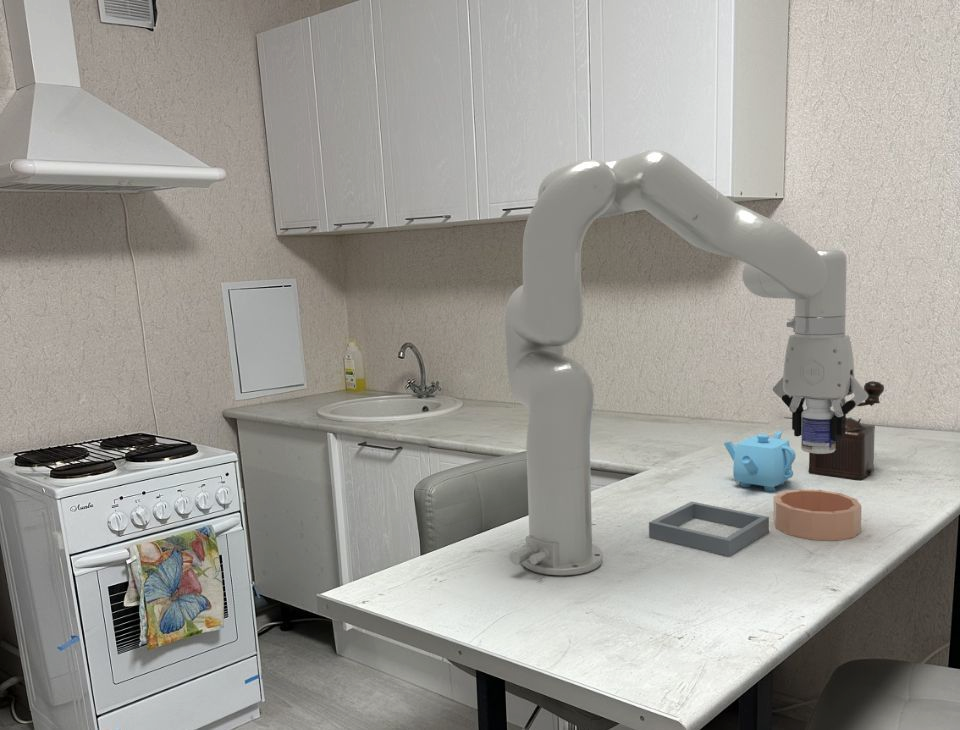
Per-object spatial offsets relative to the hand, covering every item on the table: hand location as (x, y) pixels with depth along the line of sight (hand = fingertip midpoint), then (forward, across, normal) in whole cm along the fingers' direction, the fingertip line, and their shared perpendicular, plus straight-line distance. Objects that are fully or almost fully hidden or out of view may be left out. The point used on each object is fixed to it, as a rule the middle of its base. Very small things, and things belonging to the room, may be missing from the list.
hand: (818, 436), depth 130 cm
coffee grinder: (+16, -9, +39) cm, 43 cm away
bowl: (+15, 0, 0) cm, 15 cm away
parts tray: (+15, -12, -14) cm, 24 cm away
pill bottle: (+3, 0, 0) cm, 3 cm away
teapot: (+16, -18, +18) cm, 30 cm away
